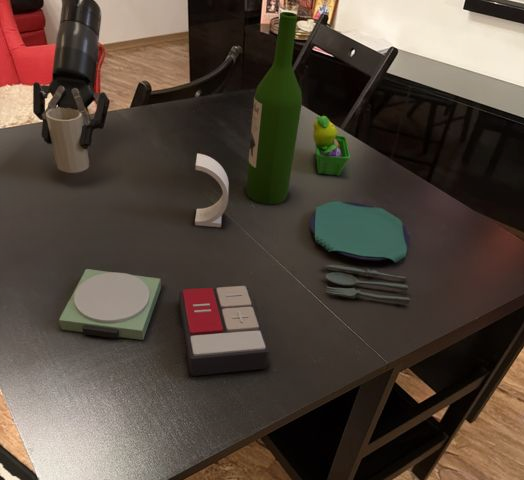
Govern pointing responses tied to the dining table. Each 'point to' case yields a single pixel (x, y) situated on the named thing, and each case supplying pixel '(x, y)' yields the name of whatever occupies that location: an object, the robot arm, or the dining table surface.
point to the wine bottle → (275, 122)
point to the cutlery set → (360, 243)
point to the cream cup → (67, 139)
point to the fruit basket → (329, 147)
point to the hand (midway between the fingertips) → (65, 144)
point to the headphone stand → (214, 212)
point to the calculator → (222, 330)
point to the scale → (111, 305)
